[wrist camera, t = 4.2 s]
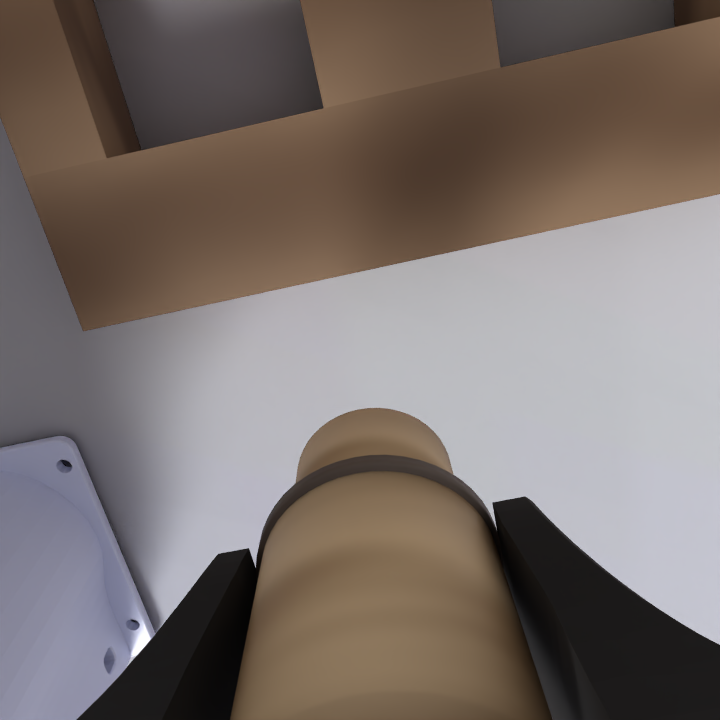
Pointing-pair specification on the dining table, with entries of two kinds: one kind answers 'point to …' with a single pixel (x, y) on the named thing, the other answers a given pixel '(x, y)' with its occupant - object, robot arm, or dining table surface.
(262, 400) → the dining table surface
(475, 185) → the board
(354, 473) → the peg
